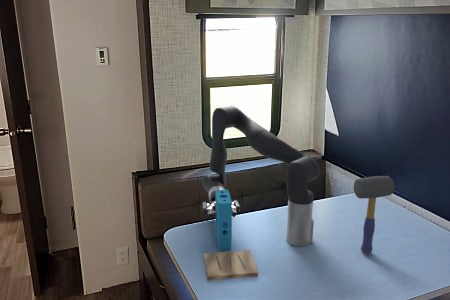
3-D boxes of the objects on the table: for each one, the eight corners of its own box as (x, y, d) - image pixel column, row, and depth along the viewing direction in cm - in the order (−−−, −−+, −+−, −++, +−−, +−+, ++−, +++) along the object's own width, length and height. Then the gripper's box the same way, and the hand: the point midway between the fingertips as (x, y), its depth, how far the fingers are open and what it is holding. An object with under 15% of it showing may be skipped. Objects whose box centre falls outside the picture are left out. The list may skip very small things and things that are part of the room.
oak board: (250, 253, 159) (250, 250, 159) (258, 276, 146) (258, 272, 146) (204, 257, 157) (204, 253, 157) (207, 280, 144) (207, 276, 144)
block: (232, 252, 160) (232, 202, 154) (218, 253, 160) (218, 203, 154) (228, 235, 172) (228, 189, 165) (215, 236, 171) (215, 190, 165)
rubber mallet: (375, 245, 164) (384, 171, 155) (387, 256, 157) (397, 179, 148) (345, 250, 161) (352, 174, 152) (356, 261, 155) (364, 182, 145)
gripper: (200, 190, 178) (203, 207, 162) (235, 188, 179) (241, 205, 164) (201, 207, 180) (204, 225, 165) (235, 205, 182) (241, 223, 166)
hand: (222, 215), depth 164 cm, fingers open, 8 cm apart
